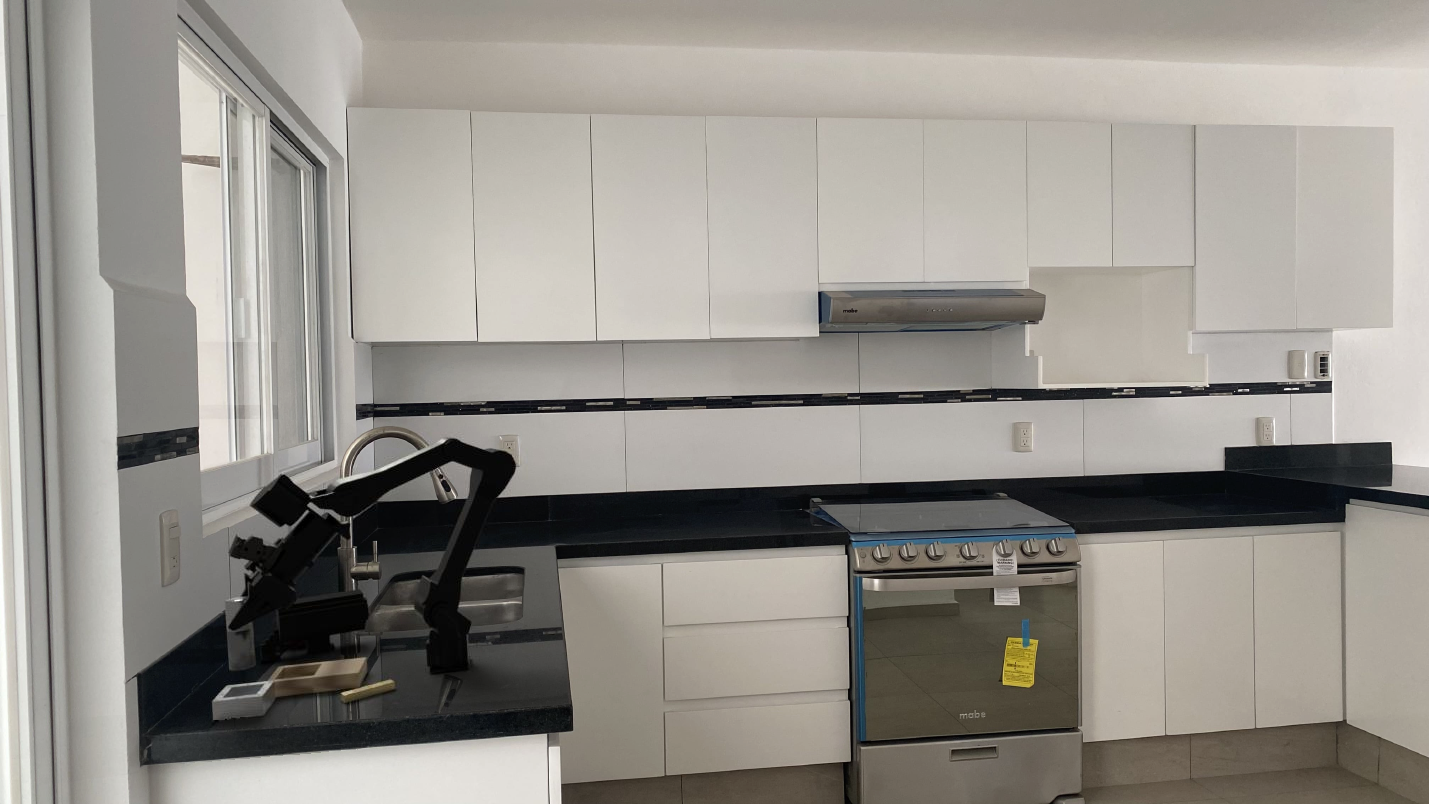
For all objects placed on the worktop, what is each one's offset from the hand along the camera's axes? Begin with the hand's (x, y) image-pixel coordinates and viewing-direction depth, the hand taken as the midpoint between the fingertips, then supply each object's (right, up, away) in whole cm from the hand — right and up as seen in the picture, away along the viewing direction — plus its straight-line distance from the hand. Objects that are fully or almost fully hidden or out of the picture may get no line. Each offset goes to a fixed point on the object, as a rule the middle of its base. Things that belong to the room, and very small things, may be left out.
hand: (229, 626), depth 139 cm
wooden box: (+9, -13, +12) cm, 19 cm away
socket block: (+2, -13, +1) cm, 13 cm away
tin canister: (+1, -7, +1) cm, 7 cm away
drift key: (+19, -12, +6) cm, 24 cm away
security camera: (0, -12, +30) cm, 32 cm away
